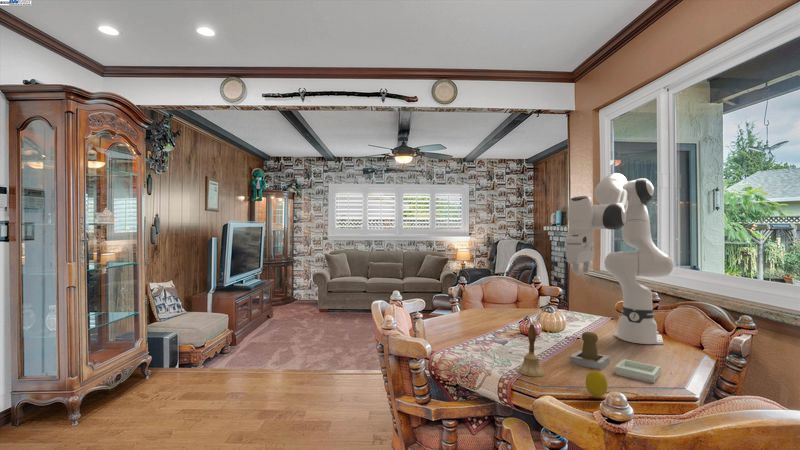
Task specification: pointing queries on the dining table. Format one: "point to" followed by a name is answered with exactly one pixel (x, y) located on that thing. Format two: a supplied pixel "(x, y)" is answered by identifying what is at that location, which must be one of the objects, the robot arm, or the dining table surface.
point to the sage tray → (638, 370)
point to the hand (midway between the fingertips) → (581, 273)
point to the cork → (589, 346)
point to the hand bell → (531, 357)
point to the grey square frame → (590, 361)
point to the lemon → (596, 383)
